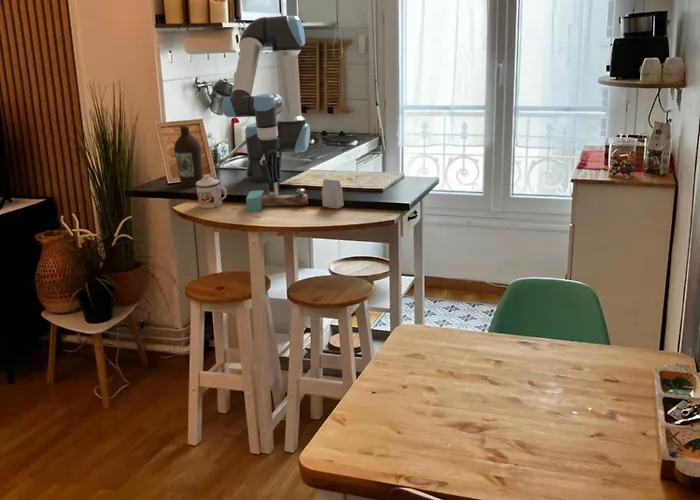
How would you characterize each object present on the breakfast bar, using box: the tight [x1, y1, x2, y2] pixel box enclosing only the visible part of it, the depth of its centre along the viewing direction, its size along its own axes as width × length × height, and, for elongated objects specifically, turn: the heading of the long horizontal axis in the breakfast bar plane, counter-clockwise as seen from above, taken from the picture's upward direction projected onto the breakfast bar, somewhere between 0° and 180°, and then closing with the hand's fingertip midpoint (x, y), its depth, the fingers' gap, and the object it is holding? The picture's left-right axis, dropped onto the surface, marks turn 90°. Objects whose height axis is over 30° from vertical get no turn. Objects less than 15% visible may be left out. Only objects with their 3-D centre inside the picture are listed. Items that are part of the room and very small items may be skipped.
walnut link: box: [262, 193, 309, 207], centre depth 280 cm, size 21×5×3 cm, turn 86°
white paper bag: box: [321, 178, 345, 210], centre depth 274 cm, size 4×7×10 cm, turn 56°
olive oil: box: [173, 123, 204, 188], centre depth 311 cm, size 11×11×25 cm
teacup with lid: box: [195, 174, 228, 209], centre depth 283 cm, size 12×9×12 cm
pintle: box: [295, 187, 306, 196], centre depth 278 cm, size 3×3×2 cm
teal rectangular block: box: [245, 189, 264, 213], centre depth 279 cm, size 10×5×5 cm, turn 178°
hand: (274, 199), depth 283 cm, fingers closed
